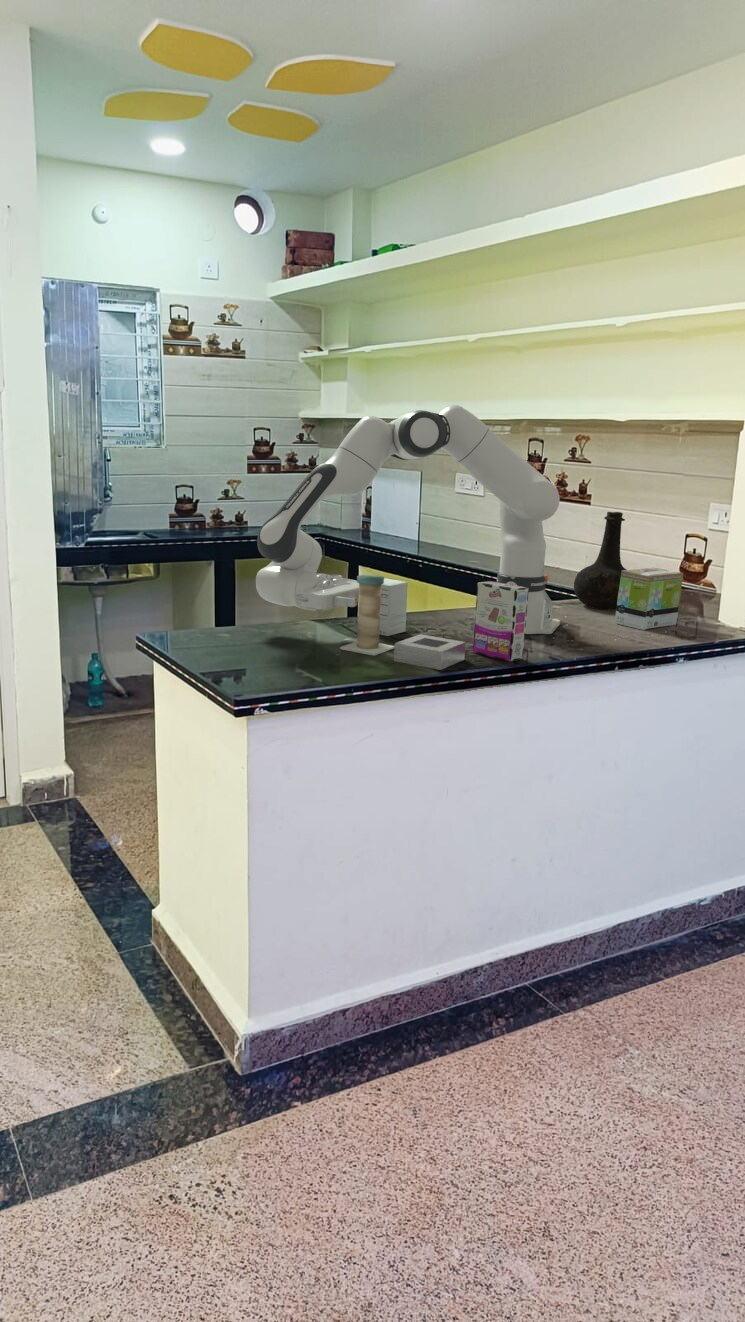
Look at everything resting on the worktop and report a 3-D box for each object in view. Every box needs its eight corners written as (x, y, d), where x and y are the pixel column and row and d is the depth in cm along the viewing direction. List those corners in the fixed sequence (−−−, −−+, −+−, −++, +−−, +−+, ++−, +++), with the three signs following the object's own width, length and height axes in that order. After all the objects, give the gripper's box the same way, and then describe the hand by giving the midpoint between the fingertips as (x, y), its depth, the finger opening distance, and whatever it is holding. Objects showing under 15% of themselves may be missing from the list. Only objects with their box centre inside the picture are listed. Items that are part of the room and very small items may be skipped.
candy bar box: (524, 659, 207) (530, 587, 203) (510, 662, 203) (516, 589, 199) (485, 649, 214) (490, 579, 210) (471, 652, 211) (476, 581, 207)
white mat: (361, 642, 216) (361, 640, 216) (394, 648, 212) (394, 646, 211) (340, 649, 209) (340, 647, 208) (374, 655, 204) (374, 653, 204)
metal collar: (419, 651, 210) (420, 634, 209) (464, 659, 204) (465, 642, 203) (393, 661, 200) (394, 643, 199) (440, 670, 195) (441, 651, 194)
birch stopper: (363, 642, 214) (366, 573, 210) (385, 646, 211) (389, 577, 207) (349, 646, 209) (352, 577, 205) (372, 651, 206) (375, 580, 202)
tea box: (645, 631, 242) (651, 575, 238) (613, 623, 249) (619, 569, 245) (677, 625, 251) (684, 571, 247) (646, 618, 259) (652, 566, 255)
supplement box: (383, 627, 233) (385, 577, 230) (406, 632, 229) (408, 581, 225) (364, 631, 227) (366, 580, 224) (387, 636, 223) (390, 585, 220)
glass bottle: (560, 605, 272) (569, 509, 265) (595, 599, 284) (604, 507, 277) (611, 615, 260) (622, 516, 253) (646, 609, 271) (657, 513, 264)
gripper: (290, 584, 205) (342, 592, 198) (340, 573, 222) (390, 581, 215) (289, 611, 206) (341, 620, 200) (339, 599, 223) (388, 607, 217)
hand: (366, 600), depth 207 cm, fingers open, 8 cm apart
